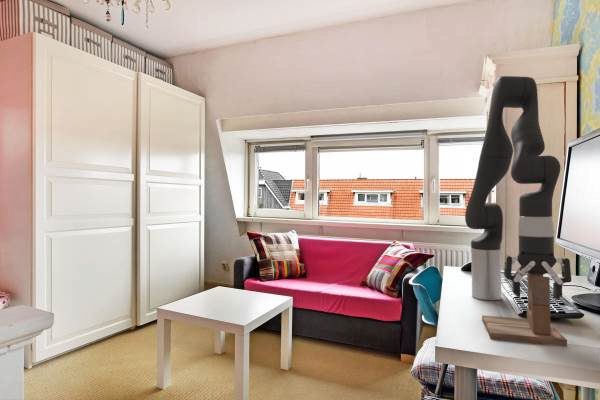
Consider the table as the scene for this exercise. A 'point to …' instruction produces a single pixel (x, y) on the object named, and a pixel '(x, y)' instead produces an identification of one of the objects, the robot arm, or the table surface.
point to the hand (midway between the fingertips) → (536, 297)
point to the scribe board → (519, 331)
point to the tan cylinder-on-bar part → (539, 303)
